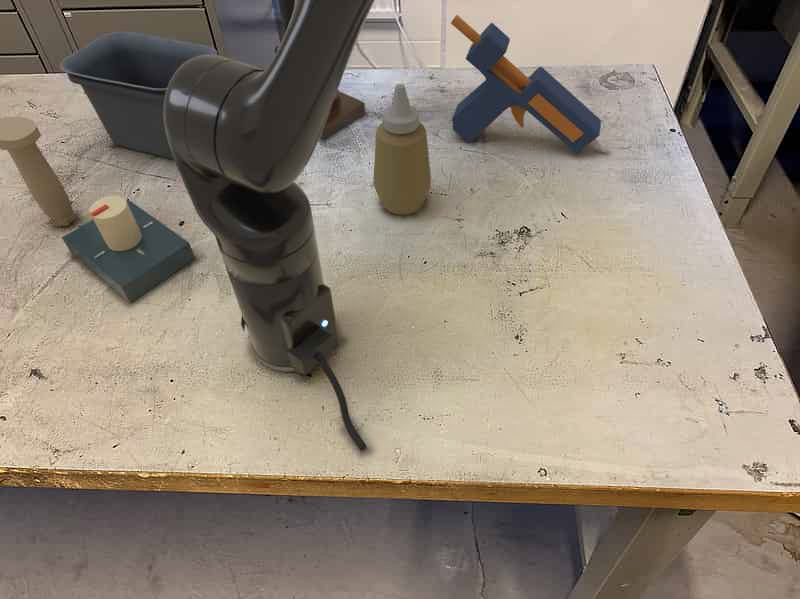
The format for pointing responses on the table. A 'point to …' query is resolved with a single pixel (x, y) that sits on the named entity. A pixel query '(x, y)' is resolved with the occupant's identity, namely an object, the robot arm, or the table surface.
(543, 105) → the glue gun
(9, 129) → the handle
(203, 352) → the table surface
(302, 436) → the table surface
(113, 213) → the dial
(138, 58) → the storage bin
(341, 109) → the button block
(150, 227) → the dial panel
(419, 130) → the squeeze bottle
